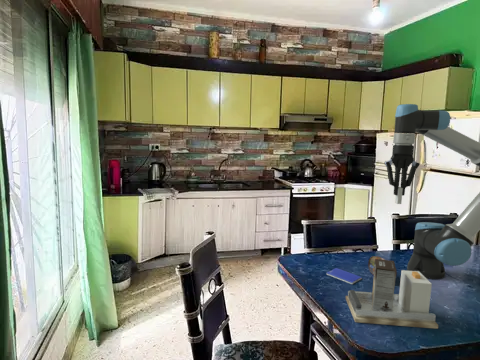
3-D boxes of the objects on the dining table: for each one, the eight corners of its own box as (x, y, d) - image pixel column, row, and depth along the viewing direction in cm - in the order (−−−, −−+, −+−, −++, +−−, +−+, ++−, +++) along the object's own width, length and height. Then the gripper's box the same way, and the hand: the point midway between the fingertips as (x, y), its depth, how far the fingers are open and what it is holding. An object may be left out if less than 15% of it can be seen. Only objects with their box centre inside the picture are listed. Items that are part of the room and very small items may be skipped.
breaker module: (415, 302, 122) (419, 268, 120) (427, 318, 112) (432, 280, 110) (398, 301, 122) (401, 267, 120) (409, 316, 112) (412, 279, 110)
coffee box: (371, 299, 123) (374, 257, 121) (390, 303, 121) (394, 260, 119) (372, 312, 114) (376, 267, 112) (392, 316, 112) (397, 270, 110)
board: (417, 303, 125) (418, 300, 124) (438, 328, 109) (438, 325, 109) (345, 298, 127) (345, 295, 127) (355, 322, 112) (355, 318, 111)
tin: (366, 271, 154) (368, 253, 152) (372, 270, 154) (374, 252, 153) (390, 285, 139) (392, 266, 138) (397, 284, 140) (398, 265, 139)
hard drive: (326, 272, 149) (352, 282, 140) (336, 267, 154) (362, 276, 145) (326, 275, 149) (351, 285, 140) (336, 270, 154) (361, 280, 145)
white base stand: (418, 302, 123) (419, 293, 123) (434, 322, 110) (436, 312, 109) (347, 297, 126) (348, 288, 125) (356, 316, 113) (356, 306, 112)
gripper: (389, 144, 130) (384, 204, 133) (425, 145, 128) (418, 206, 132) (383, 143, 137) (378, 200, 140) (417, 144, 136) (411, 202, 139)
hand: (398, 203), depth 136 cm, fingers closed
